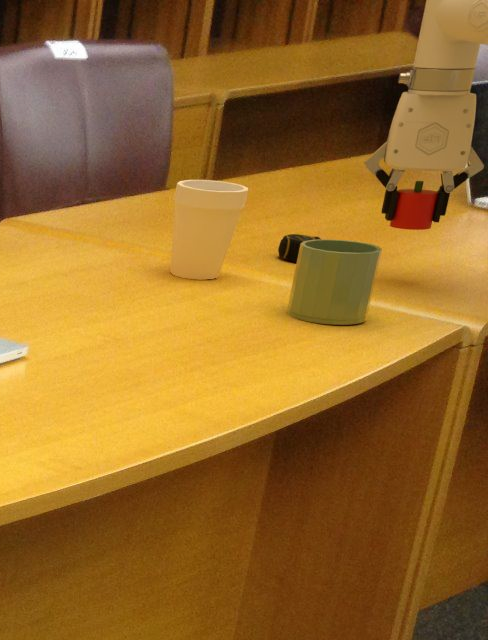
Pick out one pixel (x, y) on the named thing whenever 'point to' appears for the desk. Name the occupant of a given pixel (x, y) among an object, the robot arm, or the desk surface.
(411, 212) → the pepper
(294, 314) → the ceramic cup
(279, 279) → the desk surface
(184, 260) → the foam cup
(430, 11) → the robot arm
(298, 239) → the tape measure
